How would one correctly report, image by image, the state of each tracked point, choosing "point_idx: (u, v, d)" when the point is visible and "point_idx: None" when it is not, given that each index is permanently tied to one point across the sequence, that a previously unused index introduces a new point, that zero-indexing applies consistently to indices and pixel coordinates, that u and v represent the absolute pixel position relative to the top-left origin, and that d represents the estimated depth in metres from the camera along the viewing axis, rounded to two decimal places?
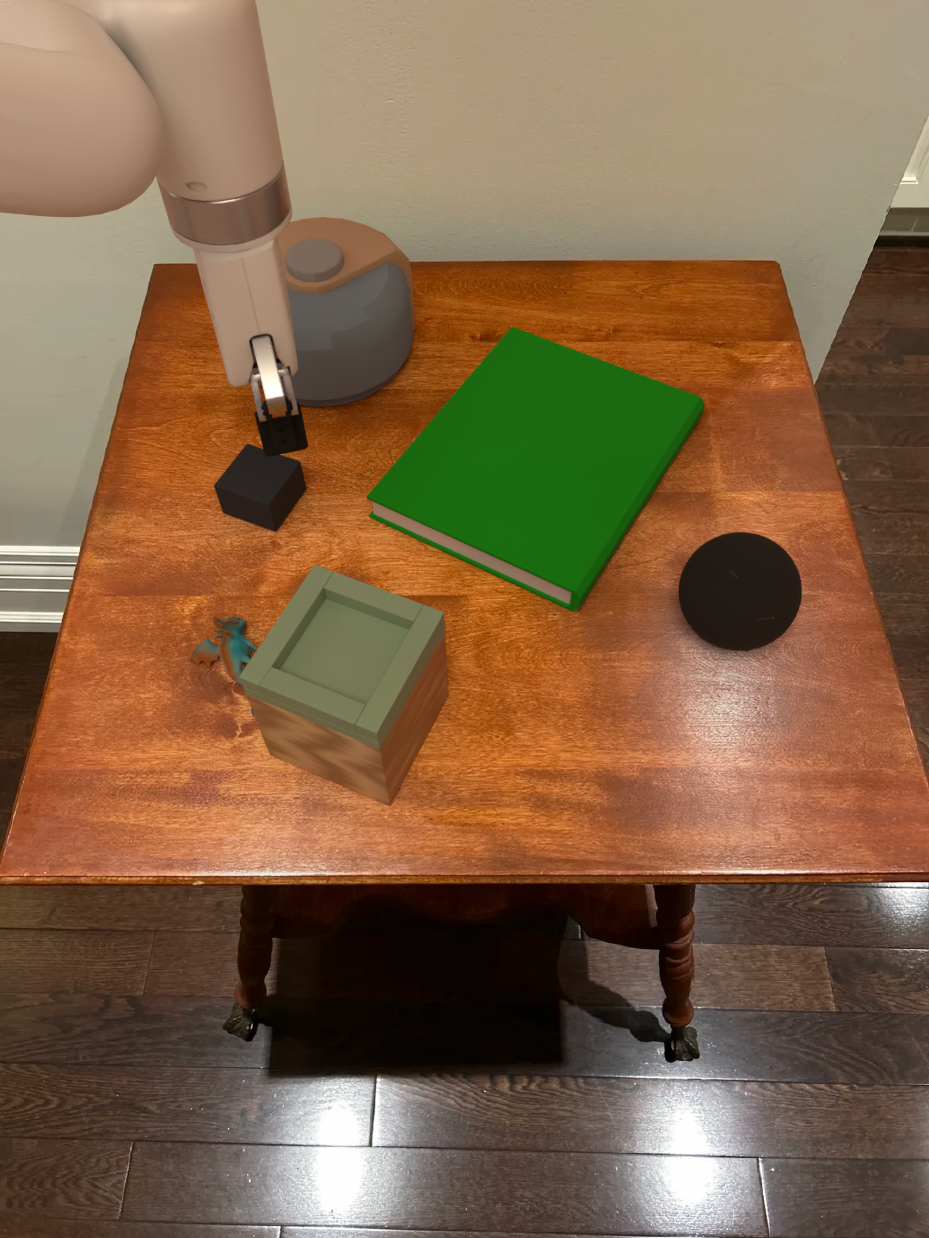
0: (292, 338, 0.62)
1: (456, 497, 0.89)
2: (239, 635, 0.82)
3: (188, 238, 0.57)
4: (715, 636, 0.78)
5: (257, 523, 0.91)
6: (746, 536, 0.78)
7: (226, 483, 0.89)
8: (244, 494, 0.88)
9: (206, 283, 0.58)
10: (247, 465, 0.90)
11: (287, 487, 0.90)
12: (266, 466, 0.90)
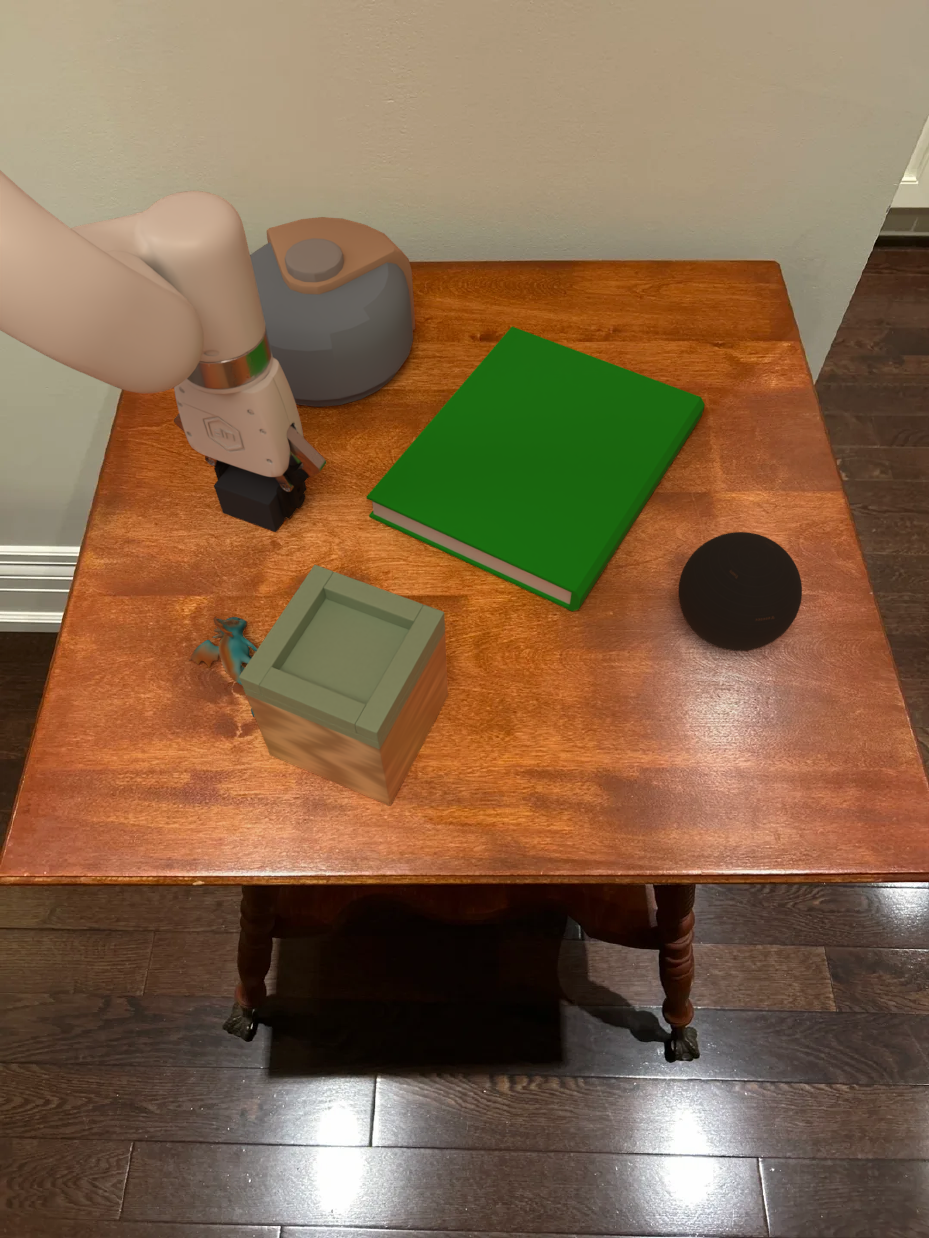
0: None
1: (456, 497, 0.89)
2: (239, 635, 0.82)
3: (231, 387, 0.76)
4: (715, 636, 0.78)
5: (257, 523, 0.91)
6: (746, 536, 0.78)
7: (226, 483, 0.89)
8: (244, 494, 0.88)
9: (256, 409, 0.78)
10: None
11: None
12: None
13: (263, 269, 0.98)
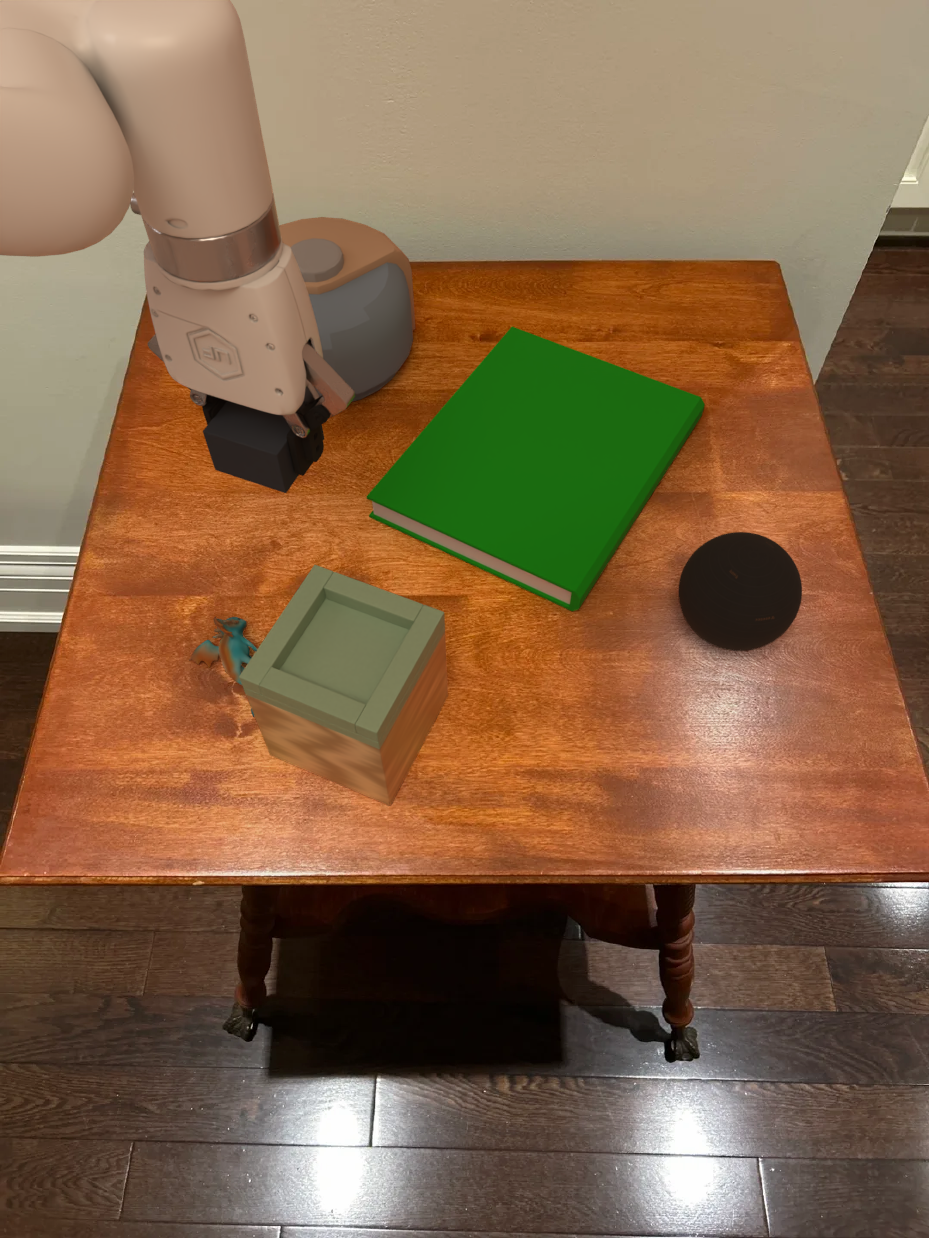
0: None
1: (456, 497, 0.89)
2: (239, 635, 0.82)
3: (226, 280, 0.54)
4: (715, 636, 0.78)
5: (261, 481, 0.69)
6: (746, 536, 0.78)
7: (219, 428, 0.67)
8: (243, 442, 0.66)
9: (262, 313, 0.56)
10: None
11: None
12: None
13: None
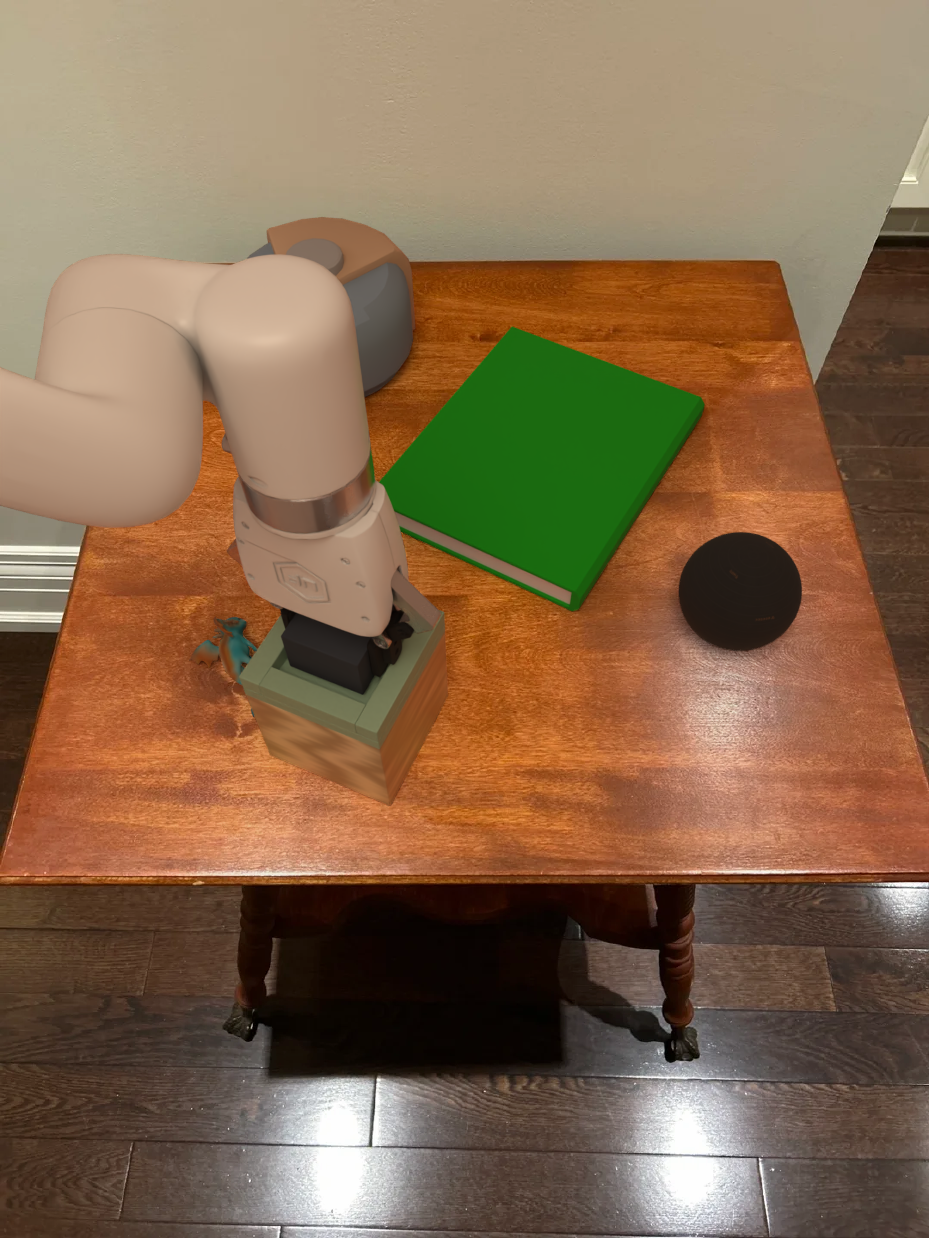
0: None
1: (456, 497, 0.89)
2: (239, 635, 0.82)
3: (320, 531, 0.53)
4: (715, 636, 0.78)
5: (338, 682, 0.67)
6: (746, 536, 0.78)
7: (298, 632, 0.65)
8: (323, 650, 0.65)
9: (355, 558, 0.54)
10: None
11: None
12: None
13: None
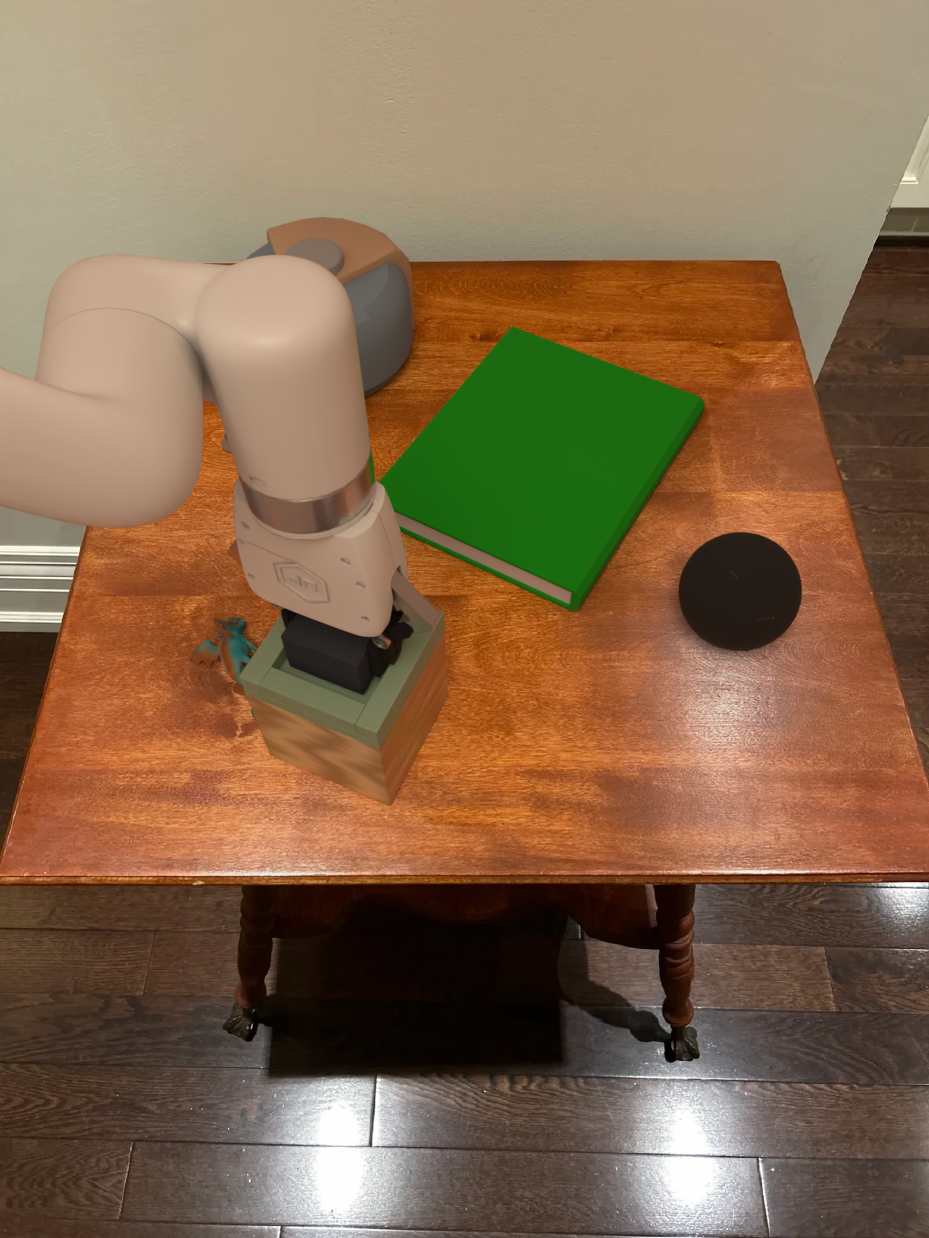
0: None
1: (456, 497, 0.89)
2: (239, 635, 0.82)
3: (321, 531, 0.53)
4: (715, 636, 0.78)
5: (338, 682, 0.67)
6: (746, 536, 0.78)
7: (298, 633, 0.66)
8: (323, 650, 0.65)
9: (355, 558, 0.54)
10: None
11: None
12: None
13: None
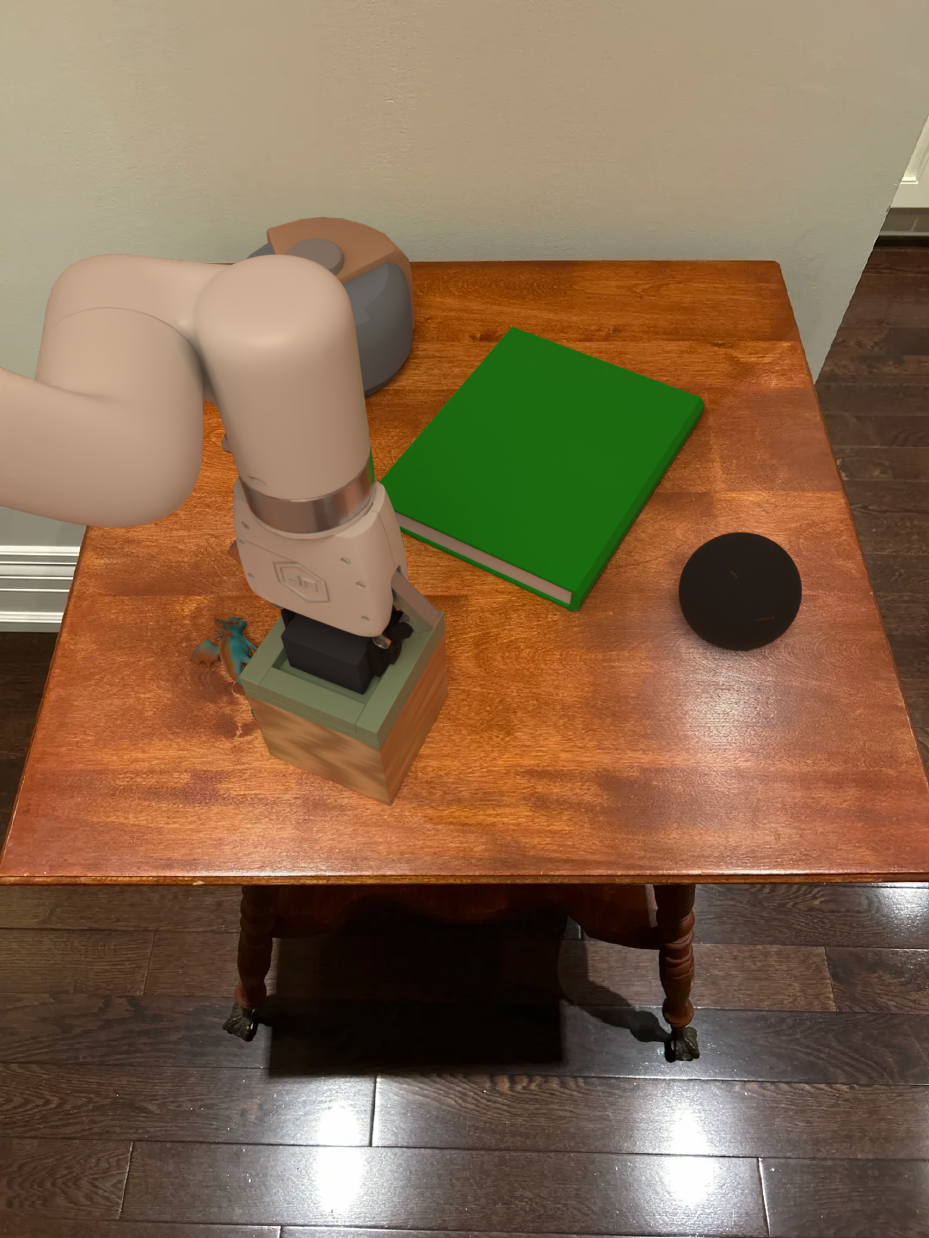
0: None
1: (456, 497, 0.89)
2: (239, 635, 0.82)
3: (321, 531, 0.53)
4: (715, 636, 0.78)
5: (338, 682, 0.67)
6: (746, 536, 0.78)
7: (298, 632, 0.66)
8: (323, 650, 0.65)
9: (355, 558, 0.54)
10: None
11: None
12: None
13: None
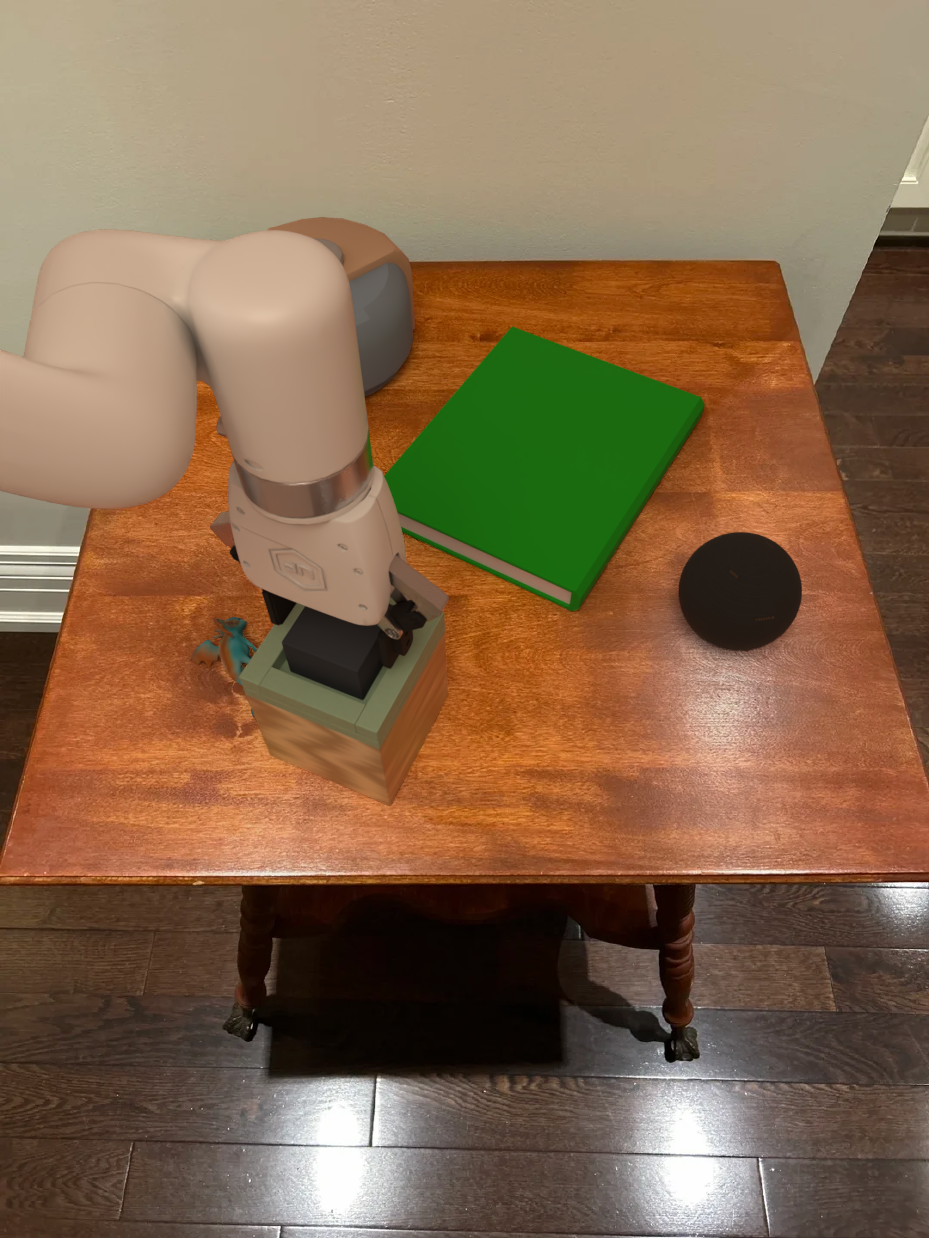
0: None
1: (456, 497, 0.89)
2: (239, 635, 0.82)
3: (317, 515, 0.52)
4: (715, 636, 0.78)
5: (338, 687, 0.68)
6: (746, 536, 0.78)
7: (298, 638, 0.66)
8: (323, 656, 0.65)
9: (352, 544, 0.53)
10: None
11: None
12: None
13: None
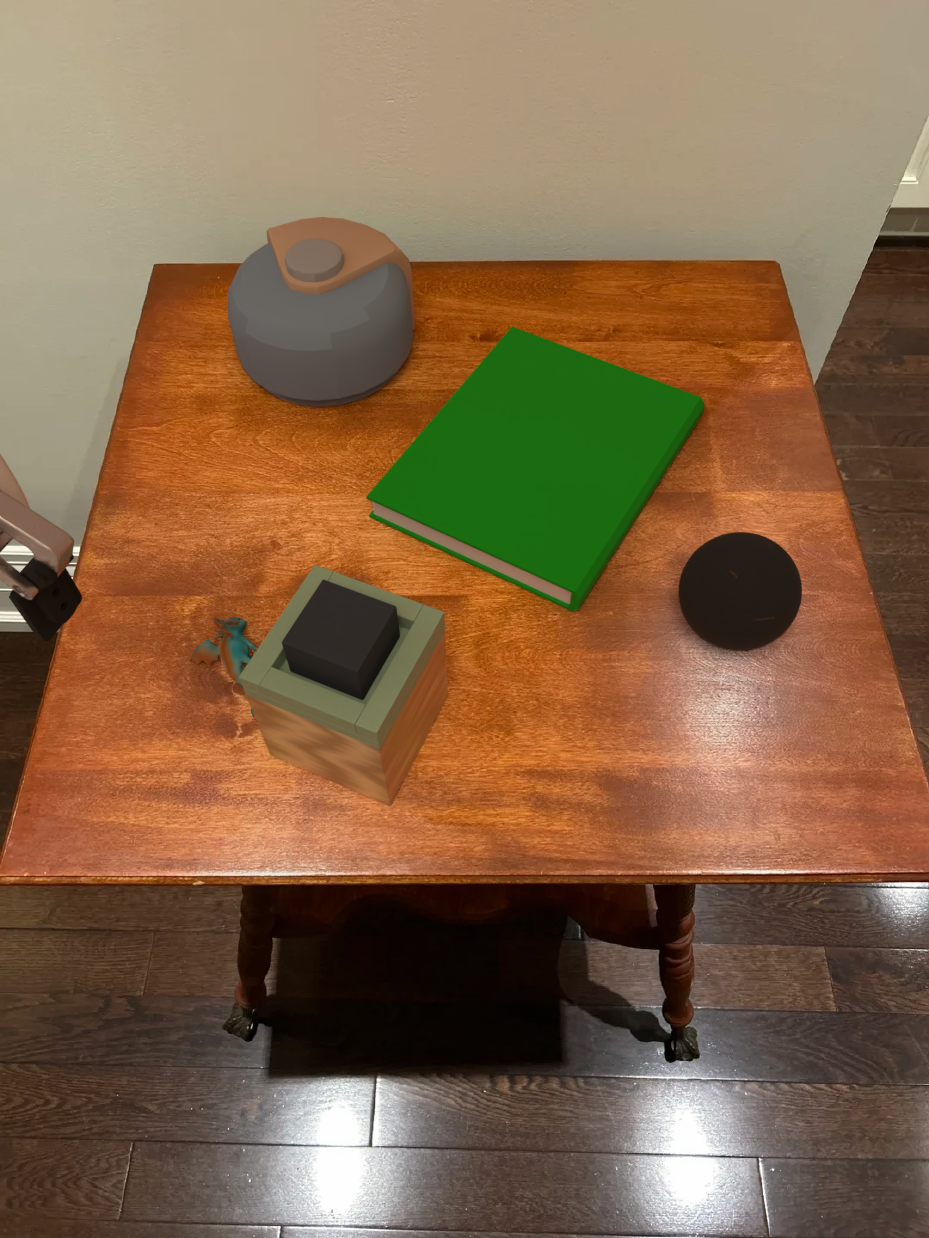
0: (10, 470, 0.44)
1: (456, 497, 0.89)
2: (239, 635, 0.82)
3: None
4: (715, 636, 0.78)
5: (338, 687, 0.68)
6: (746, 536, 0.78)
7: (298, 638, 0.66)
8: (323, 656, 0.65)
9: None
10: (324, 612, 0.67)
11: (379, 642, 0.67)
12: (350, 613, 0.67)
13: (263, 269, 0.98)
